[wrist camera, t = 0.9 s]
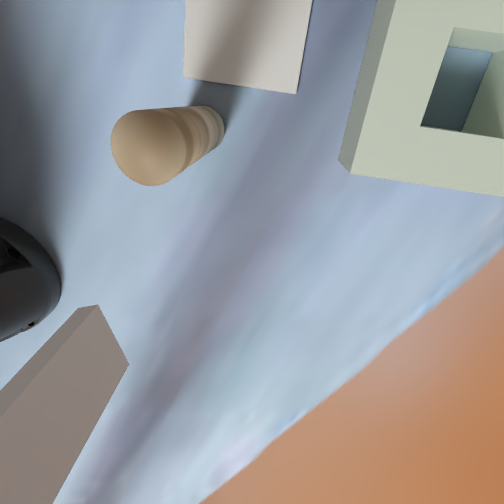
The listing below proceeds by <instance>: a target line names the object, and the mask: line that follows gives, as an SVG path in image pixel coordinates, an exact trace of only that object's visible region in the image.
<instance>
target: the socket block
mask: <svg viewBox="0 0 504 504" xmlns="http://www.w3.org/2000/svg"><path fill="white" fill-rule="evenodd" d="M447 46H450V47H458V48H465V49H472V50H479V51H486V52H493V54H492V56H491V59H490V61H489V64H488V66H487V69H486V71H485V74H484V76H483V79H482V81H481V84H480V86H479V89H478V91H477V94H476V96H475V99H474V102H473V104H472V107H471V109H470V112H469V114H468V117H467V119H466V122H465V124H464V127H463V129H462V131H456V130H449V129H442V128H435V127H429V126H422V125H421V122H422V119H423V116H424V113H425V110H426V107H427V104H428V101H429V98H430V96H431V93H432V90H433V87H434V84H435V81H436V78H437V75H438V72H439V69H440V66H441V63H442V60H443V57H444V54H445V51H446V49H447ZM338 161H339V162H340V163H341V164H342V165H343V166H344V167H345V169H346V170H347V171H348V172H349V173H350V174H356V175H363V176H370V177H376V178H383V179H389V180H396V181H402V182H409V183H416V184H422V185H429V186H435V187H442V188H448V189H455V190H462V191H468V192H475V193H481V194H488V195H494V196H501V197H504V0H377V4H376V8H375V12H374V16H373V20H372V24H371V28H370V32H369V36H368V41H367V45H366V49H365V53H364V57H363V61H362V65H361V69H360V73H359V77H358V81H357V85H356V89H355V93H354V98H353V102H352V106H351V110H350V114H349V118H348V122H347V126H346V130H345V134H344V138H343V142H342V146H341V150H340V155H339V159H338Z"/></svg>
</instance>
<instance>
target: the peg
mask: <svg viewBox="0 0 504 504" xmlns="http://www.w3.org/2000/svg"><path fill="white" fill-rule="evenodd" d="M224 132H225V128H224V122H223V120H222V118H221V116H220V115H219V113H218V112H217V111H216V110H214V109H213V108H211V107H209V106H204V105H200V106H187V107H174V108H161V109H147V110H136V111H131V112H129V113H127V114H125V115H123V116H122V117H121V118H120V119H119V120H118V121H117V123H116V124H115V126H114V128H113V131H112V134H111V150H112V154H113V157H114V159H115V161H116V164H117V165H118V167H119V168H120V169H121V171H122V172H123V173H124V174H125V175H126V176H127V177H129V178H130V179H131V180H133V181H135V182H137V183H139V184H142V185H146V186H158V185H162V184H164V183H166V182H168V181H170V180H171V179H172V178H174V177H175V176H177V175H178V174H179V173H181V172H182V171H184V170H185V169H186V168H188V167H189V166H191V165H192V164H193V163H195V162H196V161H198V160H199V159H200V158H202V157H203V156H205V155H206V154H207V153H209V152H210V151H212V150H213V149H214V148H216V147H217V146H218V145H219V144H220V143H221V141H222V139H223V137H224Z"/></svg>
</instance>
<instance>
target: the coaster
mask: <svg viewBox="0 0 504 504" xmlns="http://www.w3.org/2000/svg"><path fill="white" fill-rule="evenodd" d="M311 5H312V0H186V4H185V34H184V64H183V78H189V79H196V80H203V81H210V82H217V83H223V84H230V85H237V86H244V87H251V88H257V89H264V90H271V91H278V92H285V93H291V94H296V91H297V86H298V80H299V74H300V68H301V63H302V57H303V51H304V45H305V39H306V34H307V28H308V22H309V16H310V11H311Z"/></svg>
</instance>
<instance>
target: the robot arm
mask: <svg viewBox="0 0 504 504" xmlns="http://www.w3.org/2000/svg"><path fill="white" fill-rule="evenodd" d="M59 297H60V280H59V276H58V273H57V270H56V268H55V266H54V264H53V262H52V260H51V258H50V257H49V255H48V254H47V253H46V251H45V250H44V249H43V248H42V246H41V245H40V244H39V243H38V242H37V241H36V240H35V239H34V238H32V237H31V236H30V235H29V234H28V233H26V232H25V231H23V230H22V229H20V228H19V227H17V226H16V225H14V224H12V223H10V222H8V221H6V220H3V219H1V218H0V342H1V341H4V340H6V339H8V338H10V337H13V336H15V335H17V334H19V333H20V332H24V331H26V330H28V329H31V328H33V327H34V326H36V325H37V324H39V323H40V322H41V321H42V320H43V319H44V318H46V317H47V316H48V315H49V314H50V313H51V312H52V311H53V310H54V309H55V307H56V305H57V303H58V301H59ZM128 366H129V363H128V361H127V359H126V357H125V355H124V353H123V351H122V350H121V348H120V346H119V344H118V342H117V340H116V338H115V336H114V334H113V332H112V330H111V329H110V327H109V325H108V323H107V321H106V319H105V317H104V315H103V313H102V311H101V310H100V308H99V306H98V305H93V306H88V307H82V308H78V309H77V310H76V311H75V312H74V313H73V314H72V315H71V316H70V317H69V319H68V320H67V321H66V322H65V323H64V324H63V325H62V326H61V327H60V328H59V329H58V330H57V331H56V332H55V333H54V334H53V335H52V337H51V338H50V339H49V340H48V341H47V342H46V343H45V344H44V345H43V346H42V347H41V348H40V349H39V350H38V351H37V352H36V354H35V355H34V356H33V357H32V358H31V359H30V360H29V361H28V362H27V363H26V364H25V365H24V366H23V367H22V368H21V369H20V370H19V372H18V373H17V374H16V375H15V376H14V377H13V378H12V379H11V380H10V381H9V382H8V383H7V384H6V385H5V386H4V387H3V388H2V390H1V391H0V504H52V503H53V502H54V500H55V498H56V496H57V494H58V492H59V491H60V489H61V487H62V485H63V483H64V482H65V480H66V478H67V476H68V474H69V473H70V471H71V469H72V467H73V465H74V463H75V462H76V460H77V458H78V456H79V454H80V453H81V451H82V449H83V447H84V445H85V444H86V442H87V440H88V438H89V436H90V434H91V433H92V431H93V429H94V427H95V425H96V424H97V422H98V420H99V418H100V416H101V415H102V413H103V411H104V409H105V407H106V405H107V404H108V402H109V400H110V398H111V396H112V395H113V393H114V391H115V389H116V387H117V385H118V384H119V382H120V380H121V378H122V376H123V375H124V373H125V371H126V369H127V367H128Z"/></svg>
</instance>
